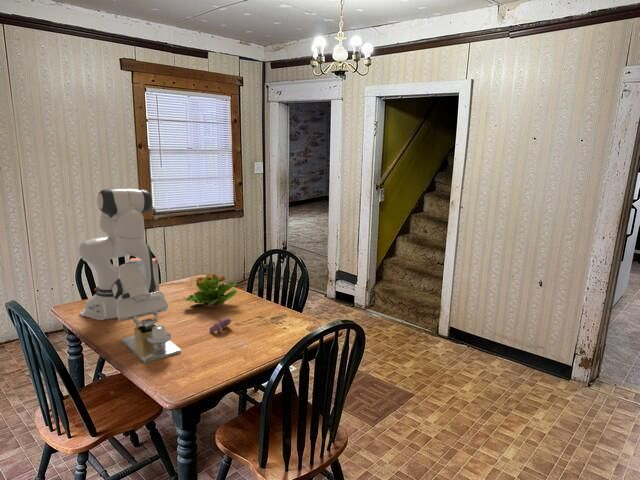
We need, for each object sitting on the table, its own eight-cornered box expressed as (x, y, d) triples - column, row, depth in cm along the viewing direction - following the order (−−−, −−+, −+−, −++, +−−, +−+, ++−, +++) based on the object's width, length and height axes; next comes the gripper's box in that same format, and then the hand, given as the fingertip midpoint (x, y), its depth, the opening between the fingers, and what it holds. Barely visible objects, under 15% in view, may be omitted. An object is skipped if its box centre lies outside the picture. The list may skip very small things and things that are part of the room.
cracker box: (159, 293, 242) (157, 257, 237) (156, 297, 236) (154, 260, 232) (134, 293, 241) (132, 257, 237) (130, 297, 235) (127, 260, 231)
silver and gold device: (121, 341, 184) (119, 315, 182) (156, 331, 194) (154, 307, 192) (145, 365, 165) (143, 336, 163) (182, 353, 175) (181, 326, 173)
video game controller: (214, 337, 194) (219, 326, 191) (207, 330, 196) (212, 319, 193) (229, 329, 203) (234, 318, 200) (222, 323, 204) (227, 312, 201)
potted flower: (206, 294, 244) (205, 264, 240) (244, 299, 237) (244, 268, 234) (181, 309, 220) (180, 277, 216) (223, 316, 214) (222, 282, 210)
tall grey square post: (143, 342, 181) (141, 320, 179) (151, 340, 183) (150, 318, 181) (146, 345, 179) (145, 323, 176) (155, 343, 181) (153, 321, 179)
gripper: (160, 294, 192) (170, 321, 188) (112, 304, 179) (121, 334, 174) (163, 287, 188) (174, 314, 184) (114, 297, 175) (125, 327, 170)
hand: (148, 324), depth 179 cm, fingers open, 5 cm apart
